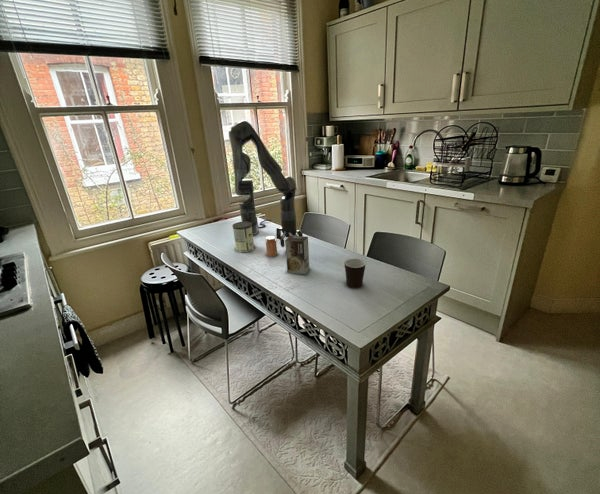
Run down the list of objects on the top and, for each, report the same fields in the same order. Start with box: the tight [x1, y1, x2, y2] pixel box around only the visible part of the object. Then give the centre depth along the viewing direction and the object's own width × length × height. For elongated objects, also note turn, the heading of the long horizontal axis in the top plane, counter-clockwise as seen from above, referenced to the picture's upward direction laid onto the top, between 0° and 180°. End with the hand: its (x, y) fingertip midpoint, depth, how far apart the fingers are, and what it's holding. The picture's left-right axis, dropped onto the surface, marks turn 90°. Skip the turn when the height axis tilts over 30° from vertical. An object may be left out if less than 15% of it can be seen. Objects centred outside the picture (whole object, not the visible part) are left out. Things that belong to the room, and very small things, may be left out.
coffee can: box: [232, 221, 255, 253], centre depth 172 cm, size 10×10×14 cm
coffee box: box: [284, 235, 310, 275], centre depth 143 cm, size 9×6×16 cm
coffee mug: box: [343, 258, 366, 289], centre depth 132 cm, size 12×9×10 cm
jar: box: [265, 235, 278, 258], centre depth 163 cm, size 5×5×10 cm
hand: (290, 247), depth 164 cm, fingers open, 8 cm apart
